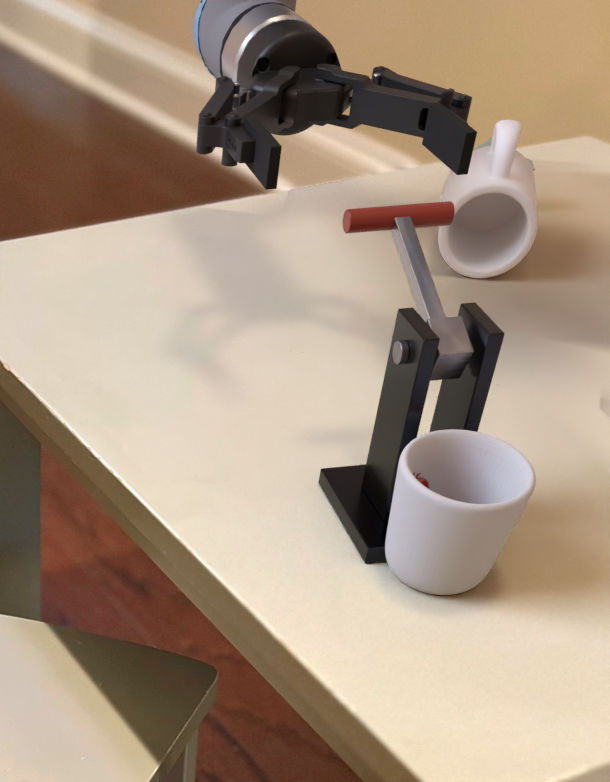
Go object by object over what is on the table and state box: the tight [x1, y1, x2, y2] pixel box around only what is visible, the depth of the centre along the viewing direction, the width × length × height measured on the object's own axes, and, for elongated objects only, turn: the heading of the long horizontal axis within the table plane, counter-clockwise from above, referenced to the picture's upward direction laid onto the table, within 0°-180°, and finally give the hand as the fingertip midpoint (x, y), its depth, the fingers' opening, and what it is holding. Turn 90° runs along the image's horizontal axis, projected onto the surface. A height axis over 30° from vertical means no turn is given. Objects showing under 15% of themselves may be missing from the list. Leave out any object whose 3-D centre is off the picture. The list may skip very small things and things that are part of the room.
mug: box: [437, 118, 539, 279], centre depth 107 cm, size 8×10×12 cm
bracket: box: [317, 301, 505, 564], centre depth 76 cm, size 10×9×14 cm
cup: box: [385, 429, 537, 596], centre depth 74 cm, size 11×8×8 cm
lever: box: [342, 201, 474, 382], centre depth 74 cm, size 13×7×2 cm, turn 8°
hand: (371, 161), depth 80 cm, fingers open, 13 cm apart
